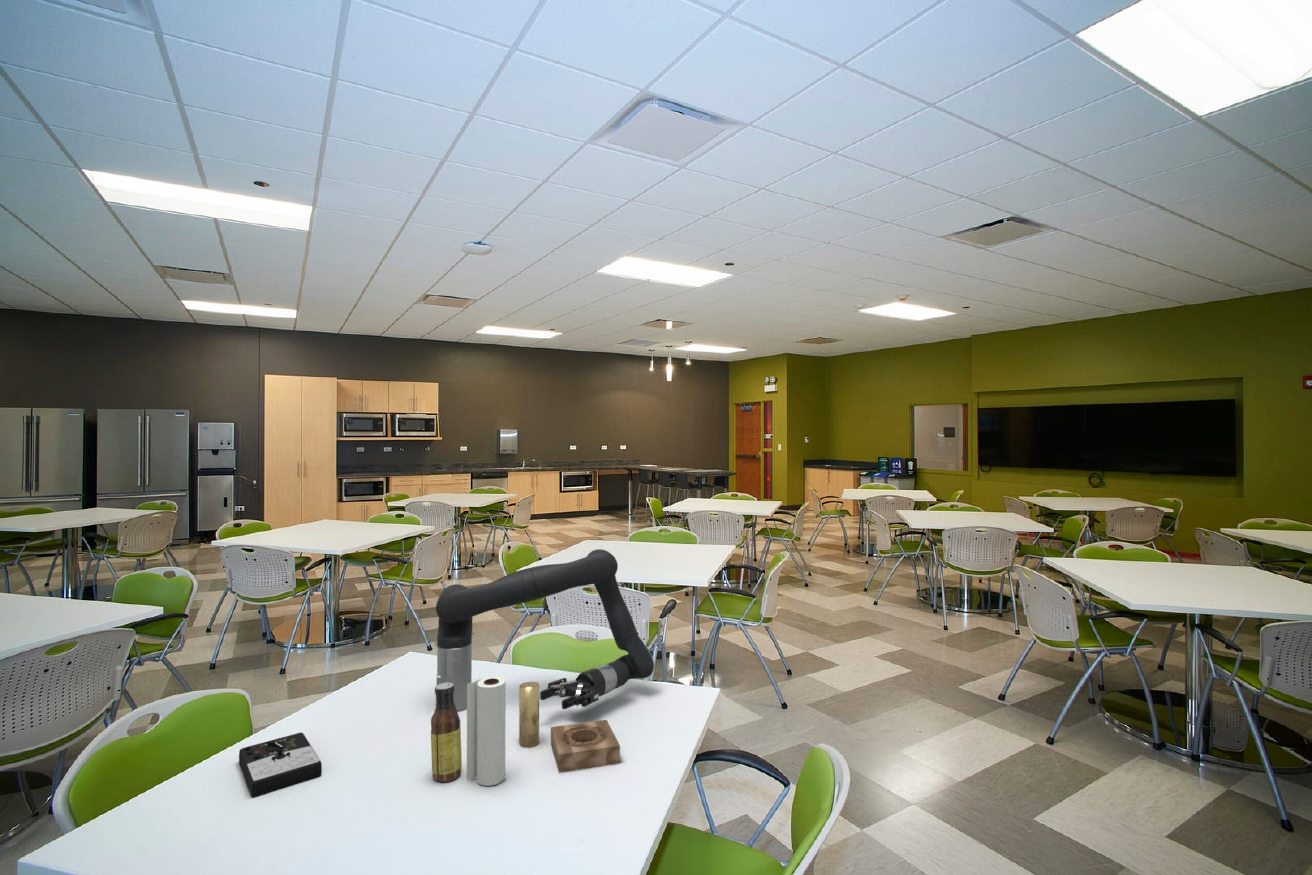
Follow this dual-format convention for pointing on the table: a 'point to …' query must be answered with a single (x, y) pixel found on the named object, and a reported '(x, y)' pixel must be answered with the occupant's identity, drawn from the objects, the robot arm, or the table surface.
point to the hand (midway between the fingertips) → (551, 700)
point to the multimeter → (279, 764)
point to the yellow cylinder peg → (529, 714)
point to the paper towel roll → (486, 730)
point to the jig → (584, 745)
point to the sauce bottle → (445, 735)
